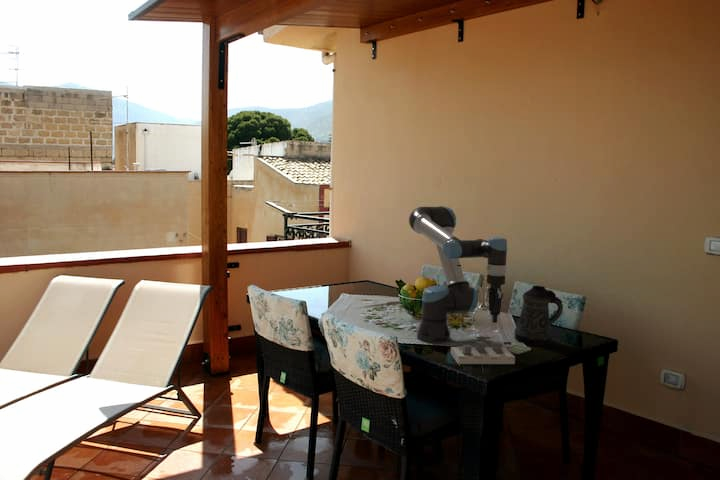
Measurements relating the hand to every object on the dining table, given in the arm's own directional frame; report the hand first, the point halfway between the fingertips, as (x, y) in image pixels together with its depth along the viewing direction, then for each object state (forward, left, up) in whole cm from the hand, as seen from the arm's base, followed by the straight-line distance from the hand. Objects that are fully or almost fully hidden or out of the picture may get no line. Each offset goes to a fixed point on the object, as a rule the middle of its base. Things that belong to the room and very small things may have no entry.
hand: (493, 329), depth 251 cm
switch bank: (+9, -7, -10) cm, 15 cm away
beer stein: (-18, +26, -10) cm, 33 cm away
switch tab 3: (+7, 0, -8) cm, 10 cm away
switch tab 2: (+7, -7, -8) cm, 12 cm away
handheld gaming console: (-6, +10, -11) cm, 16 cm away
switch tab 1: (+11, -14, -8) cm, 20 cm away
